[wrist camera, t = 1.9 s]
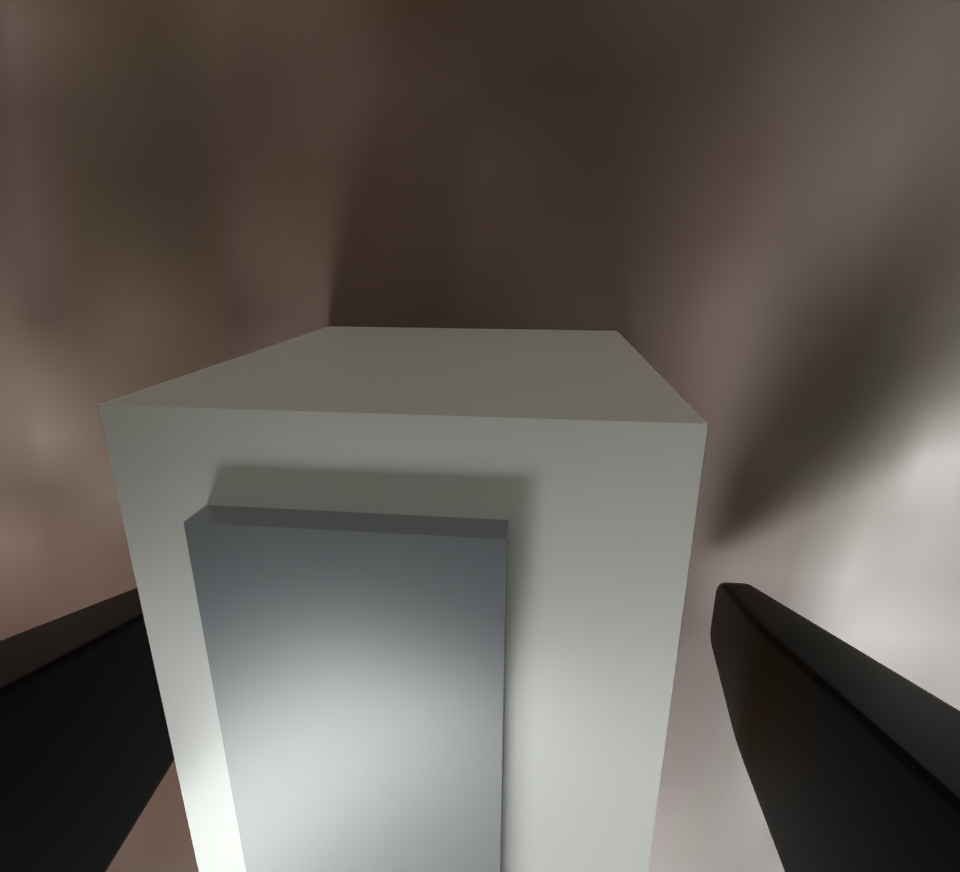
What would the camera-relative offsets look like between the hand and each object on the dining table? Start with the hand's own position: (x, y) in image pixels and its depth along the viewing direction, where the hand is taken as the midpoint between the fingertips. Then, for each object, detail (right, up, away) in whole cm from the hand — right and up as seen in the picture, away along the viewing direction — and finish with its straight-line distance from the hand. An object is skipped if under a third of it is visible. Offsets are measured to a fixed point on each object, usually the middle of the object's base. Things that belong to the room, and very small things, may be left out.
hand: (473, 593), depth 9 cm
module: (0, 0, +1) cm, 1 cm away
